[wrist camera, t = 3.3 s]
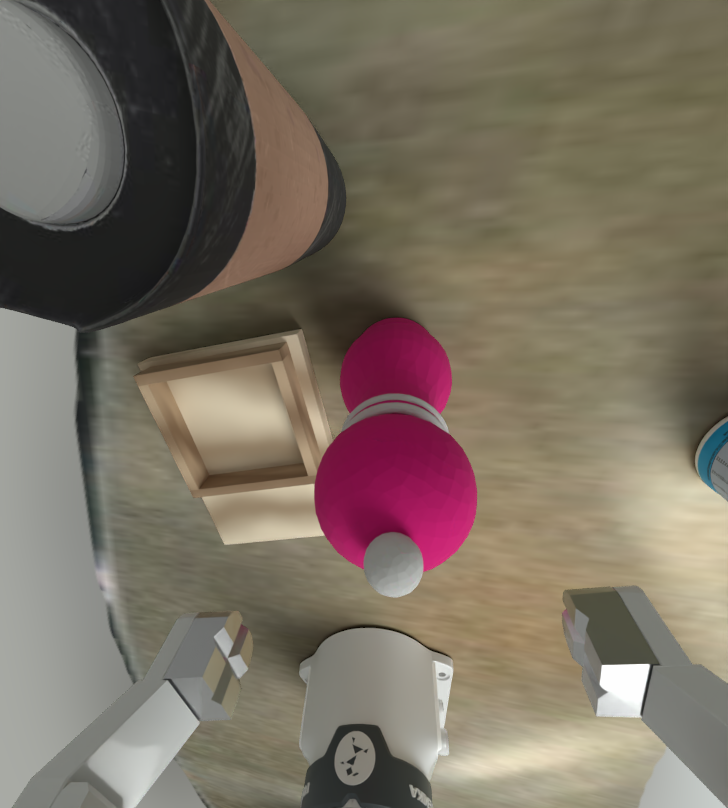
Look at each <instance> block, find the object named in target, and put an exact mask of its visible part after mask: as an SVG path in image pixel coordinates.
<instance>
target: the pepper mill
mask: <svg viewBox="0 0 728 808" xmlns="http://www.w3.org/2000/svg"><path fill="white" fill-rule="evenodd" d="M451 386H452V375H451V368H450V363H449V359H448V357H447V355H446V353H445V350H444V349H443V348H442V346H441V345H440V343H439V342H438V341H437V340H436V339H435V338H434V337H433V336H431V335H430V334H429V332H428V331H427V330H426V329H425V328H424V327H422V326H421V325H419V324H418V323H416V322H414V321H412V320H409V319H405V318H387V319H384V320H381V321H379V322H377V323H374V324H373V325H371V326H370V327H369V328H368V329H366V331H365V332H364V333H363V334H362V335H361V336H360V337H359V338H358V339H357V340H356V341H354V343H353V344H352V345H351V347H350V348H349V349H348V351H347V353H346V355H345V357H344V360H343V363H342V369H341V376H340V387H341V393H342V397H343V400H344V403H345V405H346V407H347V409H348V411H349V413H350V415H349V416H348V417H347V419H346V421H345V423H344V425H343V427H342V431H341V433H340V434H339V435H338V436H337V437H336V439H335V440H334V441H333V442H332V443H331V444H330V445H329V447H328V448H327V450H326V452H325V453H324V455H323V457H322V459H321V462H320V465H319V467H318V470H317V475H316V479H315V484H314V503H315V512H316V515H317V518H318V521H319V524H320V527H321V530H322V531H323V533H324V535H325V536H326V538H327V539H328V541H329V542H330V543H331V544H332V546H333V547H334V548H335V549H336V551H337V552H338V553H339V554H340V555H342V556H343V557H344V558H346V559H347V560H348V561H349V562H351V563H353V564H355V565H356V566H358V567H360V568H362V569H364V572H365V575H366V578H367V580H368V582H369V583H370V584H371V586H372V587H373V588H374V589H375V590H376V591H377V592H379V593H380V594H382V595H385V596H389V597H400V596H403V595H406V594H408V593H410V592H411V591H412V590H413V589H414V588H415V587H416V586H417V585H418V584H419V581H420V579H421V577H422V573H423V572H424V571H427V570H430V569H433V568H435V567H436V566H438V565H440V564H442V563H443V562H444V561H445V560H447V559H448V558H449V557H450V556H452V555H453V554H454V553H455V552H456V551H457V550H458V549H459V547H460V546H461V545H462V543H463V542H464V541H465V539H466V538H467V536H468V534H469V532H470V530H471V528H472V525H473V523H474V519H475V515H476V506H477V488H476V482H475V476H474V473H473V470H472V467H471V464H470V462H469V460H468V458H467V456H466V454H465V452H464V450H463V449H462V447H461V446H460V445H459V444H458V443H457V442H456V441H455V439H454V438H453V437H452V436H451V435H450V434H449V431H448V427H447V425H446V422H445V421H444V419H443V418H442V416H441V415H440V413H441V412H442V411H443V409H444V408H445V406H446V403H447V401H448V398H449V395H450V392H451Z"/></svg>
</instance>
